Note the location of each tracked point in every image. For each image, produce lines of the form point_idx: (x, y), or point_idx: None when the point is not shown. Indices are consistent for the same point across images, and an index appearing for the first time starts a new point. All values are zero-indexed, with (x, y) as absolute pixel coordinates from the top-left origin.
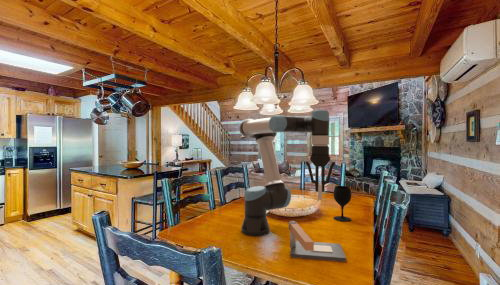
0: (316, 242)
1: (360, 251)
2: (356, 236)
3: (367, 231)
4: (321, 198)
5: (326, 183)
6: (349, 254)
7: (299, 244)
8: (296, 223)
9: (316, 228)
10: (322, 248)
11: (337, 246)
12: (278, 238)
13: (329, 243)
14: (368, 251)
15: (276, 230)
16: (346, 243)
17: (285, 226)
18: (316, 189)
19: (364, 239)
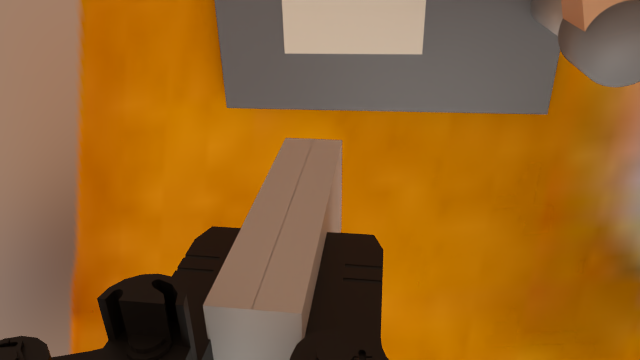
0: (371, 105)
1: (122, 59)
2: (136, 255)
3: (81, 319)
4: (286, 148)
5: (66, 358)
6: (184, 4)
7: (494, 54)
8: (592, 15)
9: None
10: (343, 2)
11: (243, 63)
12: (616, 177)
13: (289, 103)
14: (80, 67)
15: (606, 295)
16: (192, 158)
17: (532, 355)
18: (359, 263)
19: (97, 222)
